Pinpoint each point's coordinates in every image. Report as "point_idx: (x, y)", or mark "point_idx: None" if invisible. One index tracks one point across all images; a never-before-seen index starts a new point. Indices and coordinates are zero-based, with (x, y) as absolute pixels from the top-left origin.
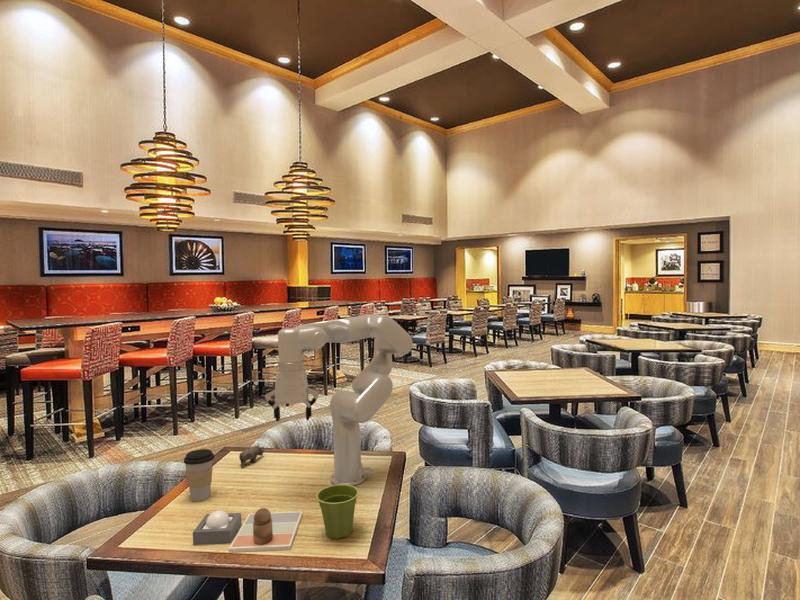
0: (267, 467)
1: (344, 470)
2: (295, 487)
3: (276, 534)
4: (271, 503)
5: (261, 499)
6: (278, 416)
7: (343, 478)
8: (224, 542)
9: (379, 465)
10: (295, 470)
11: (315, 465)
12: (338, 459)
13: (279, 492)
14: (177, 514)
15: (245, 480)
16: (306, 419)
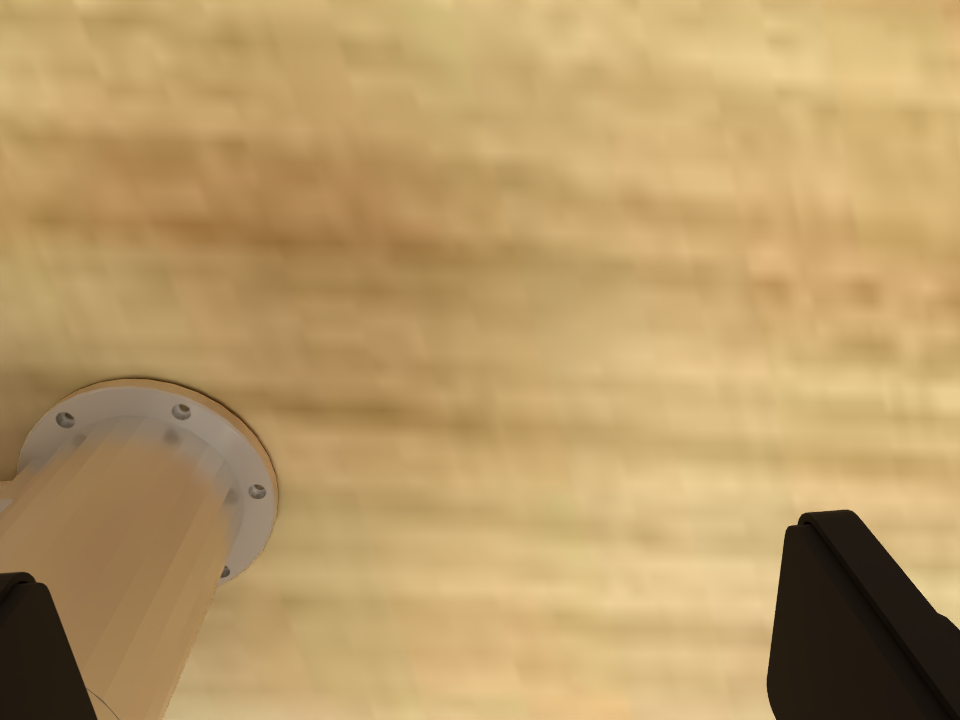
0: (749, 651)
1: (106, 461)
2: (495, 378)
3: None
4: (610, 131)
5: (697, 199)
6: (829, 636)
7: (140, 429)
8: None
9: None
10: (557, 612)
11: (443, 674)
12: (126, 525)
13: (590, 305)
14: None
15: (861, 482)
16: (30, 583)
